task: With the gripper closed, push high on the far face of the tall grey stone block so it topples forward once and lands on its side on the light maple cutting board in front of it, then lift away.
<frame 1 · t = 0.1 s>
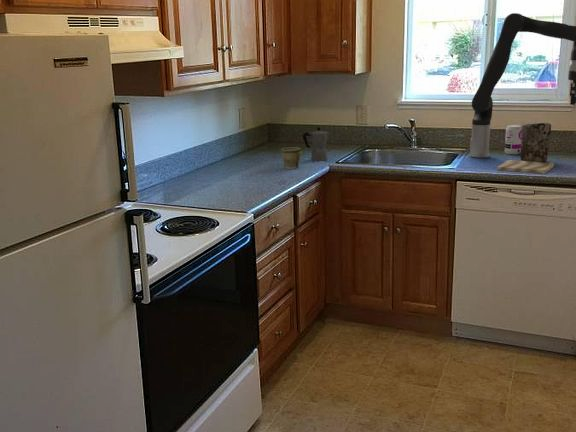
hand: (574, 103, 307), 29 cm above the worktop, fingers open, 8 cm apart
supplement can: (512, 153, 344), on the worktop
stone block: (533, 162, 319), on the worktop
coffeepot: (317, 160, 342), on the worktop
ceramic cup: (293, 168, 323), on the worktop
cutting board: (525, 168, 305), on the worktop
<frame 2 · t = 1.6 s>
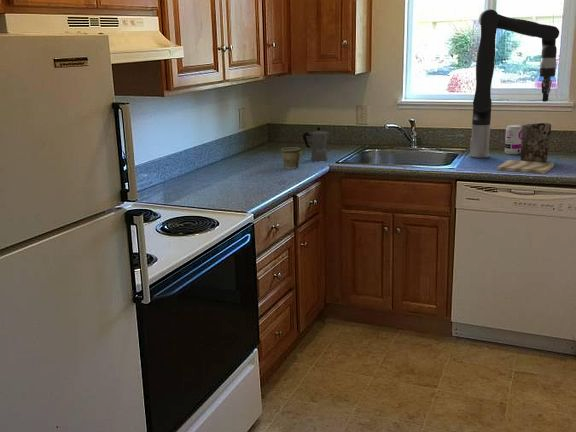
hand: (545, 101, 325), 29 cm above the worktop, fingers closed
nothing on the worktop moved.
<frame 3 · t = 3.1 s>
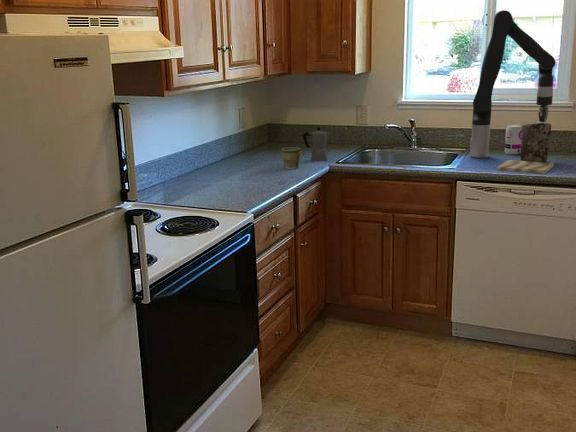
hand: (542, 129, 327), 15 cm above the worktop, fingers closed
nothing on the worktop moved.
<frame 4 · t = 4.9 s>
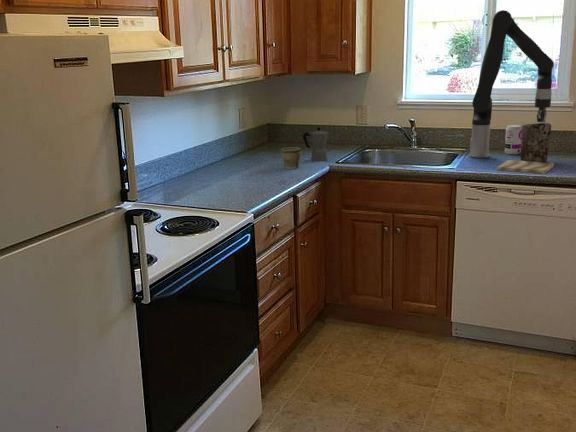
hand: (540, 131, 325), 14 cm above the worktop, fingers closed
nothing on the worktop moved.
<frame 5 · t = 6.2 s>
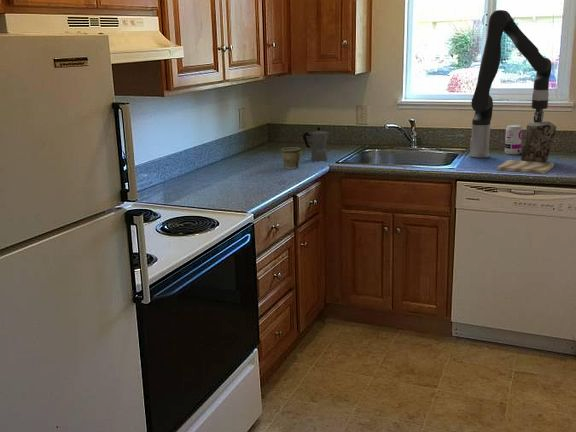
hand: (537, 133, 319), 14 cm above the worktop, fingers closed
stone block: (533, 161, 319), on the worktop, touching hand
everything else where it was.
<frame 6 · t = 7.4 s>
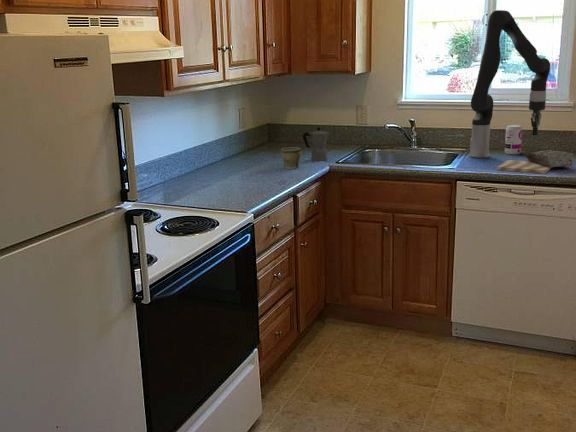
hand: (534, 135, 314), 14 cm above the worktop, fingers closed
stone block: (537, 155, 316), point 4 cm above the worktop, touching cutting board
everything else where it was.
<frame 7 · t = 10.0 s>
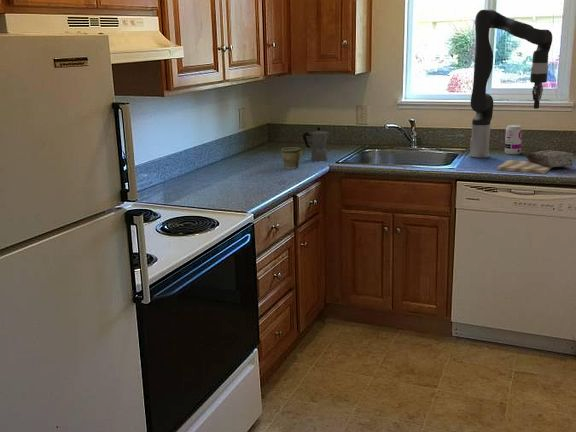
hand: (536, 108, 309), 27 cm above the worktop, fingers closed
nothing on the worktop moved.
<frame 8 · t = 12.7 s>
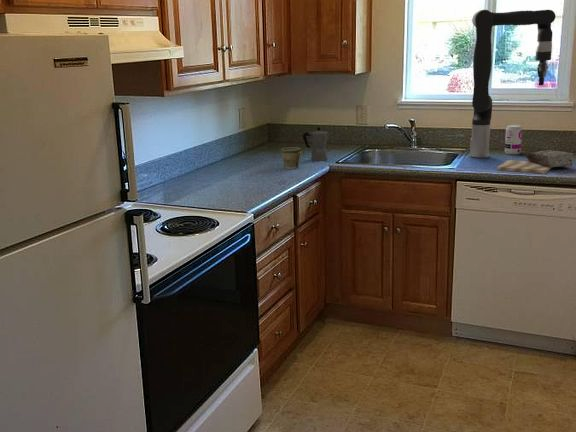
hand: (541, 85, 326), 37 cm above the worktop, fingers closed
nothing on the worktop moved.
at the end: stone block tilted 88°; stone block touching cutting board; stone block inside the target area (8.0 cm from its centre), point 3.8 cm above the worktop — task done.
